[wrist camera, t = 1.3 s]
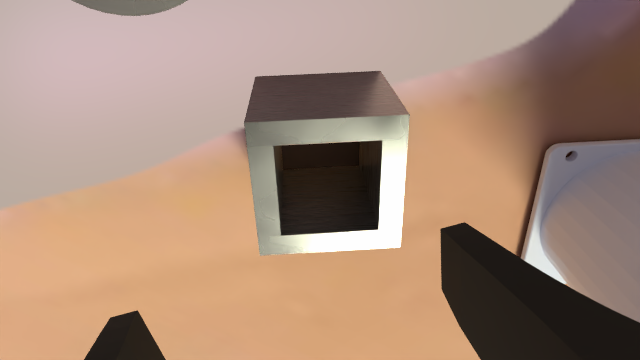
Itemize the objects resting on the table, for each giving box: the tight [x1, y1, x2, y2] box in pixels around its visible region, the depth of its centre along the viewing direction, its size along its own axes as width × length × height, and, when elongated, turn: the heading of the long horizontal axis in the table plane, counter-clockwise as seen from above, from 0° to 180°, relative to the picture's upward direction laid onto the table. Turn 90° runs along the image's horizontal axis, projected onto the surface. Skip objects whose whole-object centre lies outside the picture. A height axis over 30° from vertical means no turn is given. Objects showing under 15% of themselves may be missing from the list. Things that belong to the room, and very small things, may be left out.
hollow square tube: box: [244, 71, 410, 256], centre depth 17 cm, size 5×5×5 cm
